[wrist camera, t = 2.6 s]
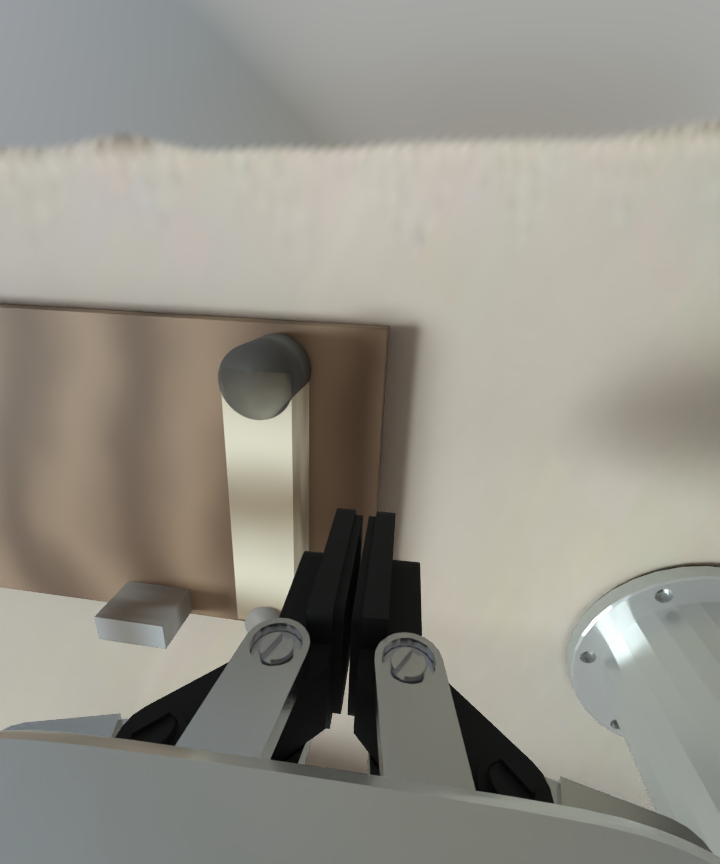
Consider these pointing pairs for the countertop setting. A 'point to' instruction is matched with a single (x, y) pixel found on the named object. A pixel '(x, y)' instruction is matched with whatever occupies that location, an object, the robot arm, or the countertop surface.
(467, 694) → the countertop surface
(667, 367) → the countertop surface
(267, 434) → the folding leg
